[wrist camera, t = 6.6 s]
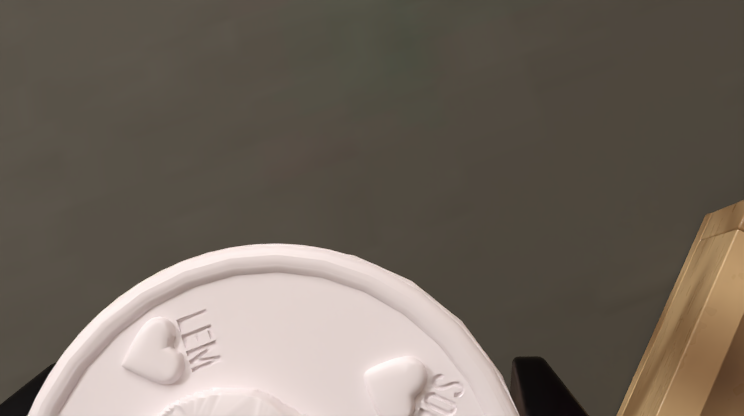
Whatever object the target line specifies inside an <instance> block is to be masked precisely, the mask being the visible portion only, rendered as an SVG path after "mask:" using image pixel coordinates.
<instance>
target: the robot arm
mask: <svg viewBox="0 0 744 416" xmlns="http://www.w3.org/2000/svg"><path fill="white" fill-rule="evenodd" d="M55 365H56V363H54V364H52V365H50V366H49V367H47V368H46V369H45V370H43V371H42V372H41V373H40V374H38V375H37V376H36V377H35V378H33V379H32V380H31V381H30V382H28V383H27V384H26V385H25V386H23V387H22V388H21V389H19V390H18V391H17V392H16V393H14V394H13V395H12V396H11V397H9V398H8V399H7V400H6V401H4V402H3V403H2V404H1V405H0V416H28V414H29V411H30V409H31V407H32V405H33V403H34V400H35V398H36V396H37V394H38V393H39V391H40V389H41V387H42V386H43V384H44V382H45V380H46V379H47V377H48V375H49V373H50V372H51V371H52V369H53V368H54V366H55ZM510 396H511V398H512V400H513V402H514V405H515V407H516V409H517V411H518V413H519V415H520V416H589V415H588V414H587V413H586V411H585V410H584V409H583V407H582V406H581V405H580V404H579V402H578V401H577V400H576V399H575V397H574V396H573V395H572V394H571V392H570V391H569V390H568V388H567V387H566V386H565V385H564V383H563V382H562V381H561V380H560V378H559V377H558V376H557V375H556V373H555V372H554V371H553V370H552V368H551V367H550V366H549V364H548V363H547V362H546V361H545V360H544V359H543V358H541V357H537V356H535V357H516V358H514V360H513V362H512V372H511V386H510Z"/></svg>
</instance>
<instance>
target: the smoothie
mask: <svg viewBox="0 0 744 416" xmlns="http://www.w3.org/2000/svg"><path fill="white" fill-rule="evenodd" d="M28 416H520V415H519V413H518V411H517V409H516V407H515V405H514V402H513V400H512V398H511V396H510V394H509V391H508V389H507V386H506V384H505V381H504V379H503V377H502V375H501V373H500V372H499V371H498V369H497V368H496V367H495V365H494V364H493V362H492V361H491V360H490V358H489V357H488V356H487V354H486V353H485V352H484V350H483V349H482V348H481V346H480V345H479V344H478V342H477V341H476V340H475V338H474V337H473V336H472V334H471V333H470V332H469V330H468V329H467V328H466V326H465V325H464V323H463V322H462V321H461V320H460V319H458V318H457V317H456V316H455V315H453V314H452V313H451V312H450V311H448V310H447V309H446V308H445V307H443V306H442V305H441V304H440V303H438V302H437V301H436V300H435V299H433V298H432V297H431V296H430V295H428V294H427V293H426V292H425V291H423V290H422V289H421V288H420V287H418V286H417V285H416V284H415V283H413V282H412V281H411V280H408V279H406V278H404V277H402V276H399V275H397V274H395V273H393V272H390V271H388V270H386V269H383V268H381V267H379V266H377V265H375V264H372V263H370V262H368V261H365V260H363V259H361V258H359V257H356V256H354V255H347V254H343V253H340V252H336V251H332V250H329V249H323V248H317V247H311V246H305V245H292V244H254V245H246V246H239V247H231V248H227V249H222V250H218V251H214V252H209V253H205V254H203V255H200V256H197V257H194V258H191V259H188V260H185V261H182V262H180V263H178V264H175V265H173V266H171V267H169V268H166V269H164V270H162V271H160V272H158V273H156V274H155V275H153V276H151V277H149V278H147V279H146V280H144V281H142V282H140V283H139V284H137V285H136V286H134V287H133V288H131V289H130V290H129V291H127V292H126V293H124V294H123V295H121V296H120V297H118V298H117V299H116V300H115V301H114V302H112V303H111V304H110V305H109V306H108V307H107V308H105V309H104V310H103V311H102V312H101V313H99V314H98V315H97V316H96V317H95V318H94V319H93V320H92V321H91V322H90V323H89V324H88V325H87V326H86V327H85V328H84V329H83V330H82V331H81V332H80V334H79V335H78V336H77V337H76V338H75V340H74V341H73V342H72V343H71V345H70V346H69V347H68V348H67V349H66V351H65V352H64V353H63V355H62V356H61V357H60V359H59V360H58V362H57V363H56V365H55V366H54V368H53V369H52V371H51V372H50V373H49V375H48V377H47V379H46V380H45V382H44V384H43V386H42V387H41V389H40V391H39V393H38V394H37V396H36V398H35V400H34V403H33V405H32V407H31V409H30V411H29V414H28Z"/></svg>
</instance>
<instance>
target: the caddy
mask: <svg viewBox="0 0 744 416" xmlns="http://www.w3.org/2000/svg"><path fill="white" fill-rule="evenodd" d="M617 416H744V200H743V201H740V202H738V203H735V204H733V205H730V206H728V207H725V208H723V209H720V210H718V211H715V212H713V213H709V214H707V215H706V216H705V218H704V220H703V222H702V224H701V227H700V229H699V231H698V233H697V236H696V238H695V240H694V242H693V245H692V247H691V249H690V251H689V254H688V256H687V258H686V260H685V263H684V265H683V267H682V269H681V272H680V274H679V276H678V278H677V281H676V283H675V285H674V287H673V290H672V292H671V294H670V296H669V299H668V301H667V303H666V305H665V308H664V310H663V312H662V314H661V317H660V319H659V321H658V323H657V326H656V328H655V330H654V332H653V335H652V337H651V339H650V341H649V344H648V346H647V348H646V350H645V353H644V355H643V357H642V359H641V362H640V364H639V366H638V368H637V371H636V373H635V375H634V377H633V380H632V382H631V384H630V386H629V389H628V391H627V393H626V395H625V398H624V400H623V402H622V404H621V407H620V409H619V411H618V413H617Z"/></svg>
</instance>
